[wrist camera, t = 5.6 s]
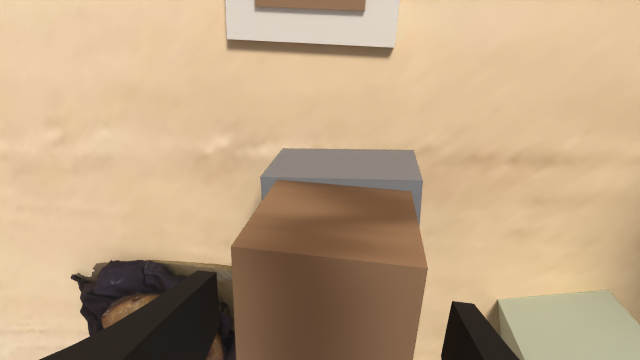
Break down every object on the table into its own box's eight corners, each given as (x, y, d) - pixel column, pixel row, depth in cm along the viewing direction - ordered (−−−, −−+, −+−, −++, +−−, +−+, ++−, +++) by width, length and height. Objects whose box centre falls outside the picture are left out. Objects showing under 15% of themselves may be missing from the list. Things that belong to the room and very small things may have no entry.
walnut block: (411, 191, 14) (427, 268, 10) (396, 304, 16) (403, 414, 11) (277, 179, 15) (231, 246, 10) (276, 289, 17) (237, 389, 12)
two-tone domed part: (246, 253, 22) (222, 295, 18) (261, 370, 24) (243, 426, 21) (72, 248, 23) (19, 286, 20) (106, 359, 26) (65, 409, 22)
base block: (413, 149, 18) (422, 180, 14) (406, 262, 20) (413, 316, 16) (283, 147, 19) (260, 176, 15) (290, 257, 21) (271, 306, 17)
